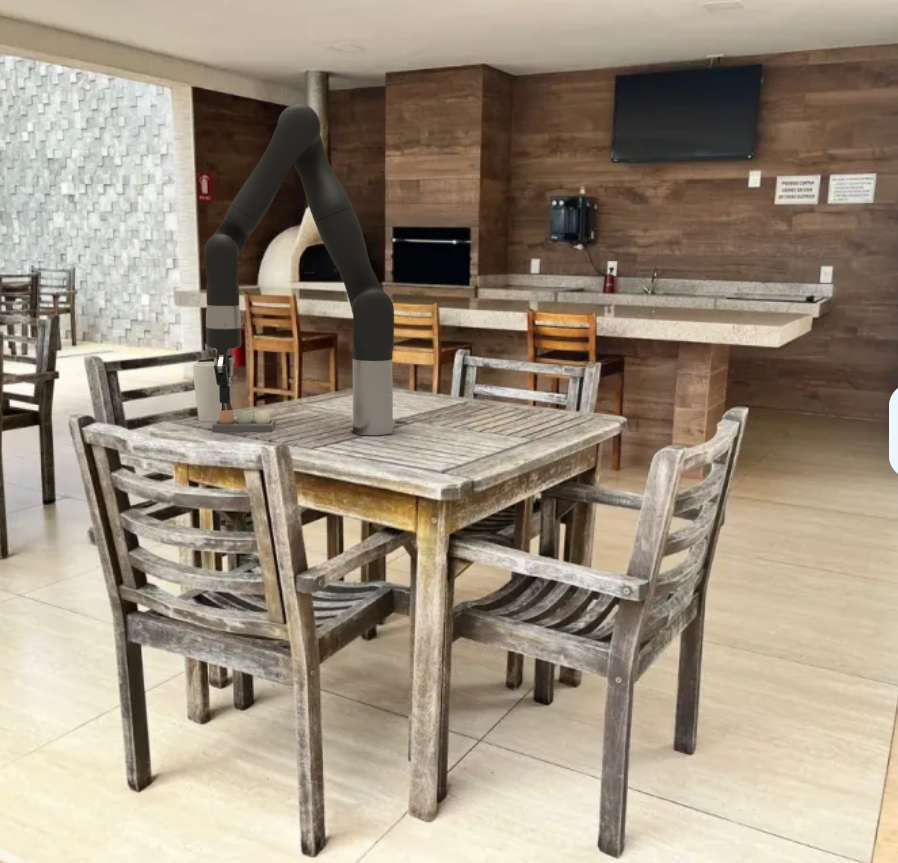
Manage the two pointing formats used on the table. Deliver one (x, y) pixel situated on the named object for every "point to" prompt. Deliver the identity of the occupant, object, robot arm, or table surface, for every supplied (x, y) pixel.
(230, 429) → the dark grey tray
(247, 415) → the button sage
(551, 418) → the table surface
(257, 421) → the button cream
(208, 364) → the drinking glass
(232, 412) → the button terracotta
